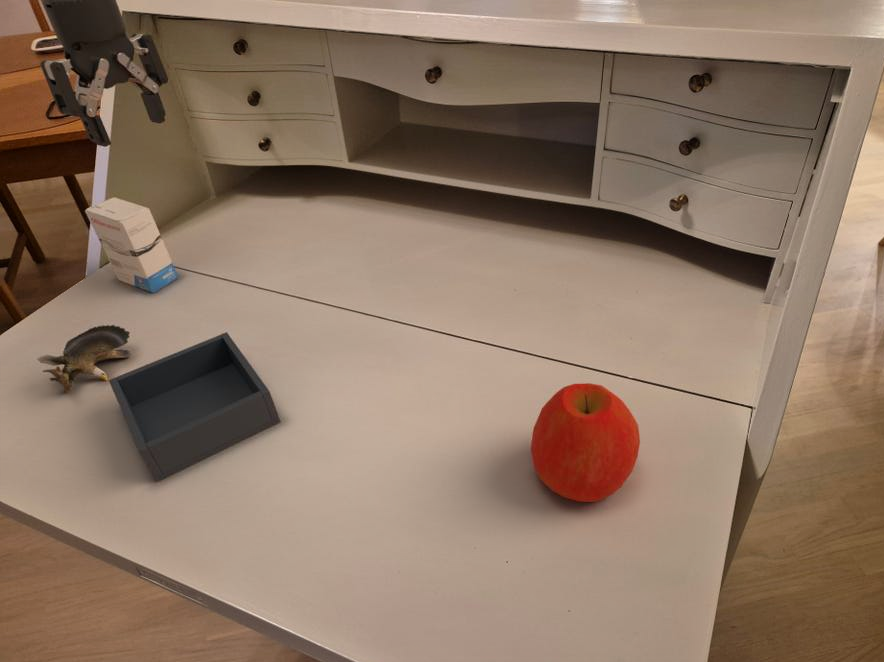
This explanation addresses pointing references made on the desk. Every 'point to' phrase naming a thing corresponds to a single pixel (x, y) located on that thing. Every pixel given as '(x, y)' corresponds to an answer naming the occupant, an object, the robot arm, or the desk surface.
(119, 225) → the ink box
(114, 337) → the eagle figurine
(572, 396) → the apple
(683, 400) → the desk surface
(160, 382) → the tote
